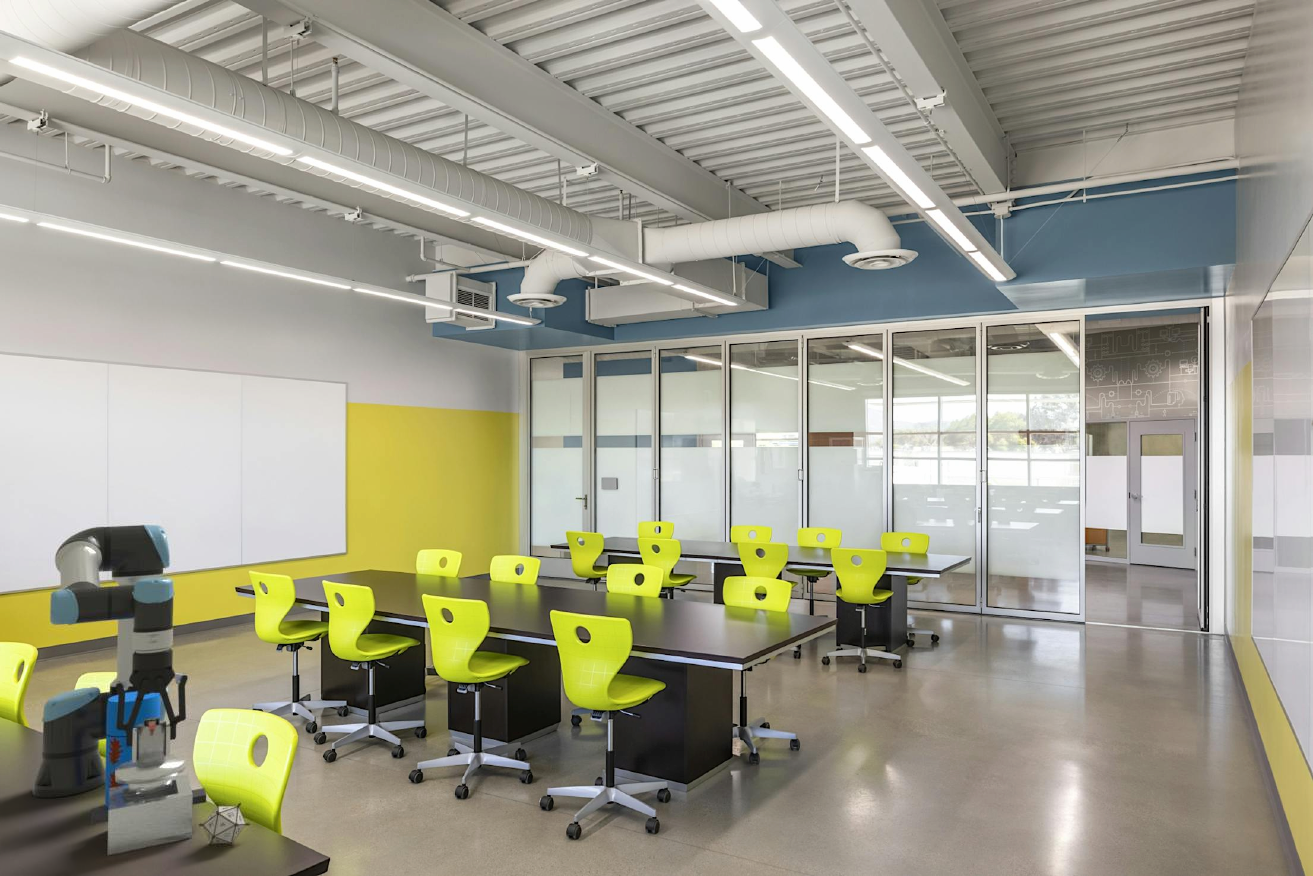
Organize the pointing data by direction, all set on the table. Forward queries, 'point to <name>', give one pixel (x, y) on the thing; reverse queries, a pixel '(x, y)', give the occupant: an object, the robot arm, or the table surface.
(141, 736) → the lid
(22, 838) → the table surface
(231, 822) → the game die
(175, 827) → the base
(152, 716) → the thermos
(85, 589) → the robot arm
